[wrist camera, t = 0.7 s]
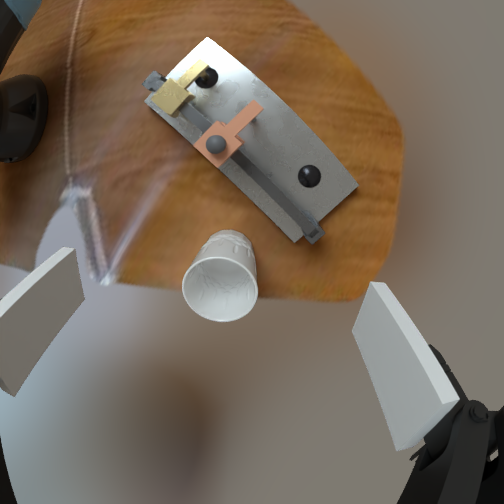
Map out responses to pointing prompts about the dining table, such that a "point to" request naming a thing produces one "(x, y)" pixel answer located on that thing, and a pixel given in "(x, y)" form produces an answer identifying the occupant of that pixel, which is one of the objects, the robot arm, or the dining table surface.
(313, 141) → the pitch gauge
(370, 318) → the robot arm
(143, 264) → the dining table surface
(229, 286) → the white cup
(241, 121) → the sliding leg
